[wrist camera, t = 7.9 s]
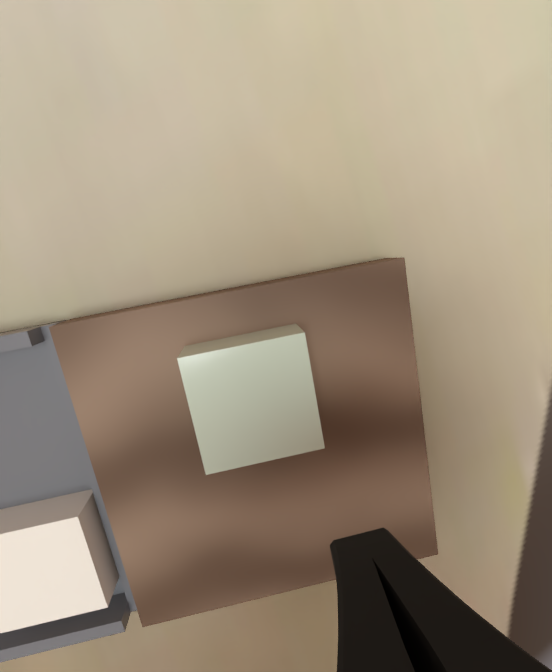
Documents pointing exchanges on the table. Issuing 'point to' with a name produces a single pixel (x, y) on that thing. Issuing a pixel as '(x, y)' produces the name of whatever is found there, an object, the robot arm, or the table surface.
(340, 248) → the table surface
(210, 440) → the tile green
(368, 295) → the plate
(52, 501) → the tile cream
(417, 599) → the robot arm
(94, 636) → the box
